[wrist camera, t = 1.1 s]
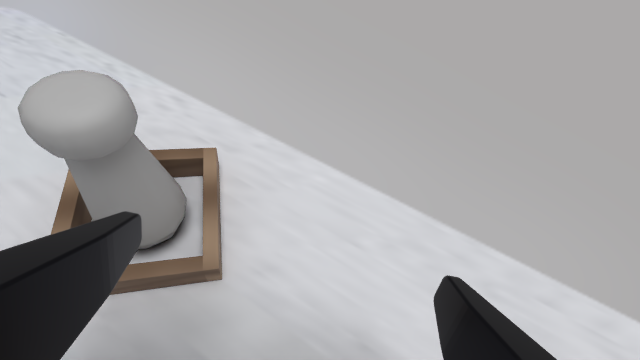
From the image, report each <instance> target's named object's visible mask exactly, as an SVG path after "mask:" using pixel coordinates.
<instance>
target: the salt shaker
mask: <svg viewBox="0 0 640 360" xmlns="http://www.w3.org/2000/svg"><path fill="white" fill-rule="evenodd" d="M18 111H19V115H20V119H21V123H22V125H23V127H24V129H25V131H26V132H27V134H28V135H29V136H30V137H31V138H32V139H33V140H34V141H35V142H36V143H37V144H38V145H39V146H41V147H42V148H44V149H45V150H47V151H48V152H50V153H51V154H53V155H55V156H57V157H60V158H64V159H65V161H66V163H67V165H68V168H69V170H70V172H71V174H72V176H73V178H74V181H75V183H76V185H77V187H78V189H79V191H80V193H81V196H82V198H83V200H84V202H85V204H86V206H87V209H88V211H89V213H90V215H91V217H92V219H93V221H95V220H98V219H101V218H105V217H108V216H111V215H114V214H117V213H120V212H123V211H128V212H133V213H138V214H139V215H140V216H141V219H142V240H141V244H140V246H139V248H138V249H147V248H149V247H152V246H154V245H156V244H158V243H161V242H163V241H165V240H167V239H170V238H172V236H173V234H174V233H175V231H176V230H177V228H178V226H179V225H180V223H181V222H182V220H183V219H184V215H185V208H186V197H185V195H184V193H183V191H182V189H181V187H180V185H179V184H178V183H177V182H176V181H175V180H174V178H173V177H172V176H171V175H170V174H169V173H168V172H167V170H166V169H165V168H164V167H163V166H162V165H161V164H160V163H159V161H158V160H157V159H156V158H155V157H154V156H153V155H152V153H151V152H150V151H149V150H148V149H147V148H146V147H145V145H144V144H143V143H142V142H141V141H140V140H139V139H138V137H137V136H136V135H135V134H134V132H135V128H136V124H137V119H138V115H137V112H136V109H135V106H134V104H133V102H132V100H131V98H130V96H129V94H128V93H127V91H126V90H125V88H124V87H123V86H122V84H120V83H119V82H117V81H116V80H114V79H112V78H111V77H109V76H108V75H104V74H100V73H94V72H89V71H84V70H77V71H62V72H59V73H56V74H53V75H50V76H47V77H44V78H42V79H41V80H39V81H38V82H37V83H35V84H34V85H32V86H31V87H29V88H28V90H27V91H26V93H25V95H24V97H23V99H22V101H21V103H20V104H19V106H18Z"/></svg>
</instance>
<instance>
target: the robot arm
mask: <svg viewBox="0 0 640 360" xmlns="http://www.w3.org/2000/svg"><path fill="white" fill-rule="evenodd" d="M141 240H142V219H141V216H140V215H139V214H138V213H133V212H128V211H123V212H120V213H117V214H114V215H111V216H108V217H105V218H101V219H98V220H95V221H92V222H89V223H86V224H83V225H80V226H77V227H73V228H70V229H67V230H64V231H61V232H58V233H55V234H52V235H49V236H45V237H42V238H39V239H36V240H33V241H30V242H27V243H24V244H21V245H17V246H14V247H11V248H8V249H5V250H2V251H0V360H60V359H61V358H62V357H63V355H64V354H65V353H66V351H67V350H68V349H69V347H70V346H71V345H72V343H73V342H74V341H75V339H76V338H77V337H78V336H79V334H80V333H81V332H82V330H83V329H84V328H85V326H86V325H87V324H88V322H89V321H90V320H91V318H92V317H93V316H94V315H95V313H96V312H97V311H98V309H99V308H100V307H101V305H102V304H103V303H104V301H105V300H106V299H107V297H108V296H109V295H110V293H111V292H112V290H113V289H114V287H115V286H116V284H117V282H118V281H119V279H120V277H121V276H122V274H123V272H124V271H125V269H126V267H127V266H128V264H129V263H130V261H131V259H132V258H133V256H134V254H135V253H136V251H137V249H138V248H139V246H140V244H141ZM434 308H435V314H436V320H437V326H438V332H439V339H440V345H441V350H442V354H443V358H444V360H557V359H555V358H554V357H553V356H552V355H551V354H550V353H548V352H547V351H546V350H545V349H544V348H542V347H541V346H540V345H539V344H538V343H536V342H535V341H534V340H533V339H532V338H531V337H529V336H528V335H527V334H526V333H525V332H523V331H522V330H521V329H520V328H519V327H517V326H516V325H515V324H514V323H513V322H512V321H510V320H509V319H508V318H507V317H506V316H504V315H503V314H502V313H501V312H500V311H498V310H497V309H496V308H495V307H494V306H493V305H491V304H490V303H489V302H488V301H487V300H485V299H484V298H483V297H482V296H481V295H479V294H478V293H477V292H476V291H475V290H474V289H472V288H471V287H470V286H469V285H468V284H466V283H465V282H464V281H463V280H462V279H460V278H458V277H453V276H445V277H444V278H443V279H442V281H441V283H440V285H439V287H438V289H437V291H436V293H435V296H434Z"/></svg>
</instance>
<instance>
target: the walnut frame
mask: <svg viewBox="0 0 640 360" xmlns="http://www.w3.org/2000/svg"><path fill="white" fill-rule="evenodd" d="M149 151H150V152H151V153H152V155H153V156H154V157H155V158H156V159H157V160H158V161H159V163H160V164H161V165H162V166H163V167H164V168H165V169H166V170H167V172H168V173H169V174H170V175H171V176H172V177H186V176H203V256H197V257H189V258H180V259H172V260H163V261H155V262H146V263H138V264H129V265H128V266H127V267H126V269H125V271H124V272H123V274H122V276H121V277H120V279H119V281H118V282H117V284H116V286H115V287H114V289H113V290H112V292H111V293H110V295H111V294H118V293H126V292H133V291H140V290H148V289H155V288H162V287H170V286H177V285H184V284H192V283H199V282H206V281H213V280H221V279H222V261H221V223H220V185H219V162H218V156H217V149H216V148H196V149H169V150H149ZM91 220H92V217H91V215H90V213H89V211H88V209H87V206H86V204H85V202H84V200H83V198H82V196H81V193H80V191H79V189H78V187H77V185H76V183H75V181H74V178H73V176H72V174H71V172H70V170H68V174H67V178H66V181H65V185H64V188H63V192H62V196H61V199H60V203H59V206H58V210H57V214H56V217H55V221H54V225H53V228H52V232H51V235H52V234H55V233H58V232H61V231H64V230H67V229H70V228H73V227H77V226H80V225H83V224H86V223H89V222H91Z"/></svg>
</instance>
